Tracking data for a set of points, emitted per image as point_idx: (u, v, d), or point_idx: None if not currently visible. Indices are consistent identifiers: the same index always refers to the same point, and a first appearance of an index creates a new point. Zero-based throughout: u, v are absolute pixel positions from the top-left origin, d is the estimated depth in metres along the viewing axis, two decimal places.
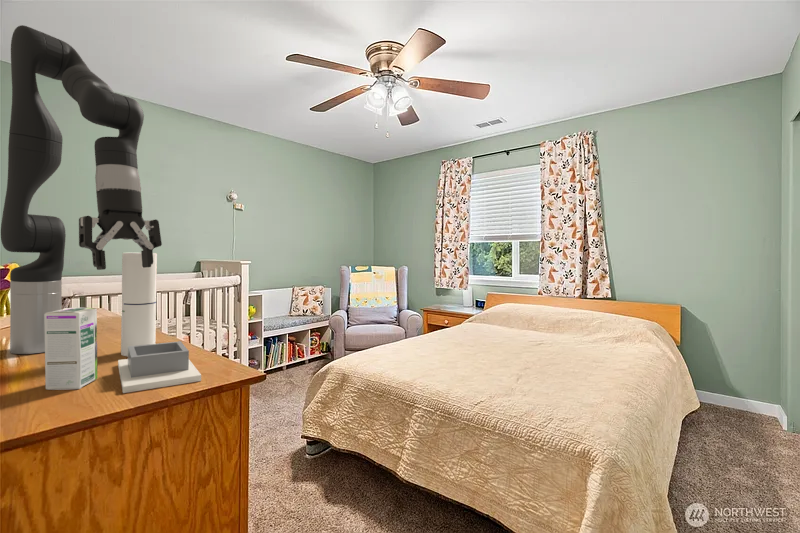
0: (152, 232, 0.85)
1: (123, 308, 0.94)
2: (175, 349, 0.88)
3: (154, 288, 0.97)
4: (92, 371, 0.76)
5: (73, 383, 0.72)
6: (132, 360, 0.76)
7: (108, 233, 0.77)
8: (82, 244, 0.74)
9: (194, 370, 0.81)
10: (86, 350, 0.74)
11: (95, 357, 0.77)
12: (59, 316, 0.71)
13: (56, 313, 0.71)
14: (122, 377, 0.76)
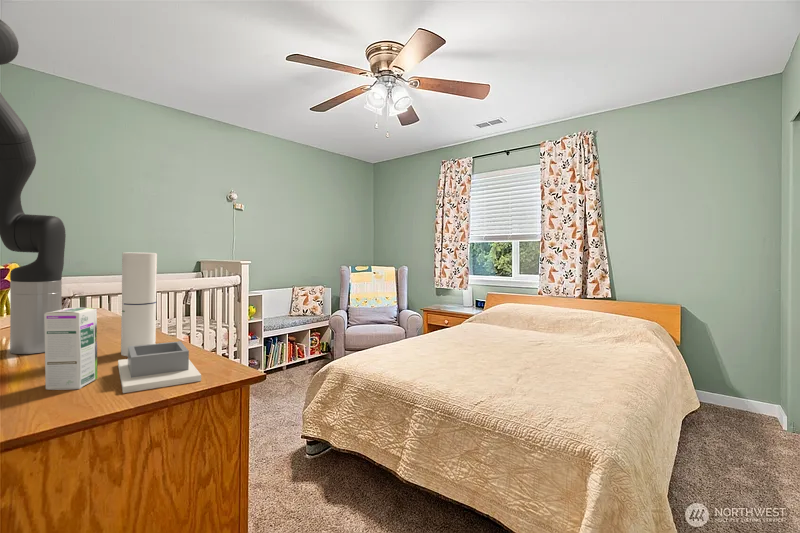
0: None
1: (123, 308, 0.94)
2: (175, 349, 0.88)
3: (154, 288, 0.97)
4: (92, 371, 0.76)
5: (73, 383, 0.72)
6: (132, 360, 0.76)
7: None
8: None
9: (194, 370, 0.81)
10: (86, 350, 0.74)
11: (95, 357, 0.77)
12: (59, 316, 0.71)
13: (56, 313, 0.71)
14: (122, 377, 0.76)
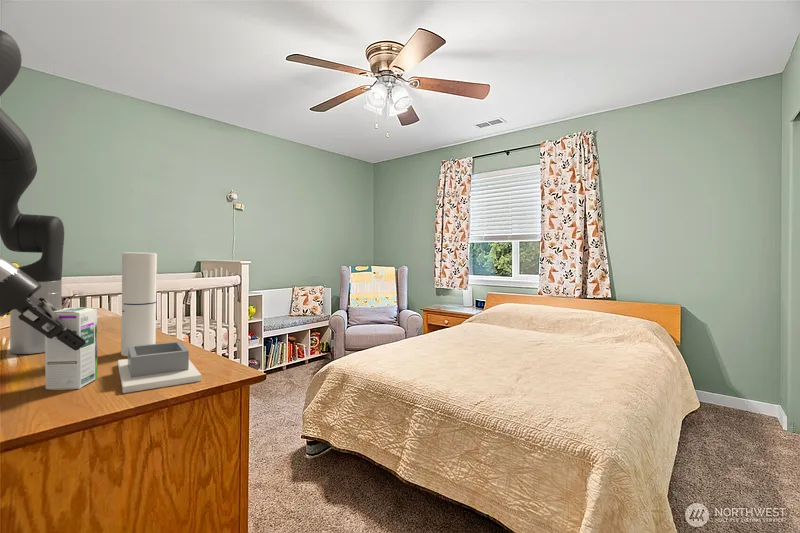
0: None
1: (123, 308, 0.94)
2: (175, 349, 0.88)
3: (154, 288, 0.97)
4: (92, 371, 0.76)
5: (73, 383, 0.72)
6: (132, 360, 0.76)
7: None
8: None
9: (194, 370, 0.81)
10: (86, 350, 0.74)
11: (96, 357, 0.77)
12: None
13: (56, 313, 0.71)
14: (122, 377, 0.76)
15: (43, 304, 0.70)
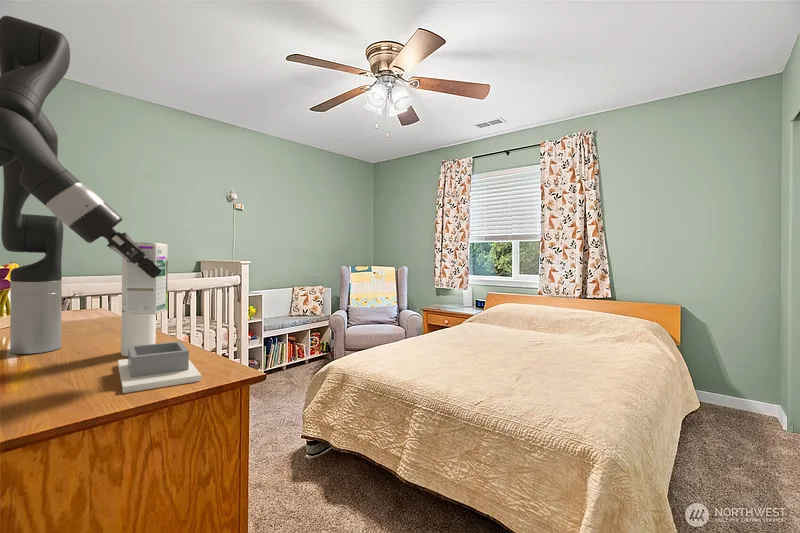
0: None
1: (123, 308, 0.94)
2: (175, 349, 0.88)
3: None
4: (164, 301, 0.82)
5: (150, 309, 0.78)
6: (132, 360, 0.76)
7: None
8: None
9: (194, 370, 0.81)
10: (160, 280, 0.80)
11: (166, 289, 0.83)
12: None
13: None
14: (122, 377, 0.76)
15: (125, 234, 0.76)
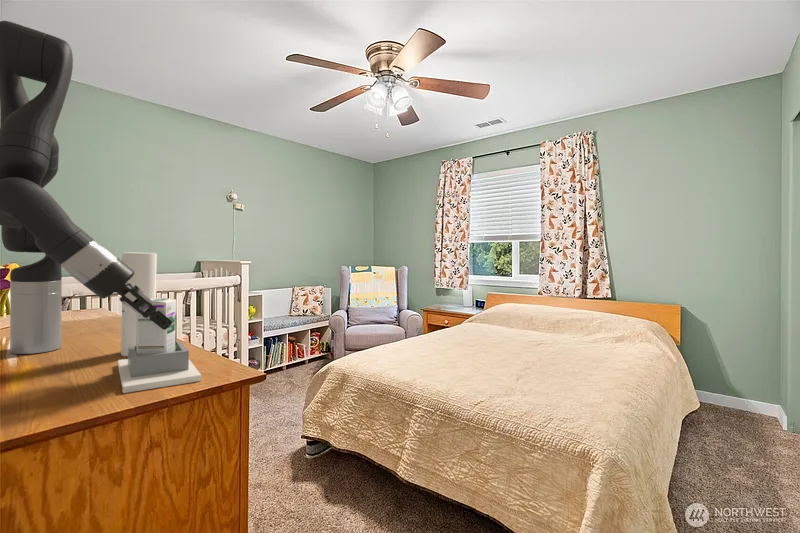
0: None
1: (123, 308, 0.94)
2: None
3: (154, 288, 0.97)
4: None
5: None
6: (132, 360, 0.76)
7: None
8: None
9: (194, 370, 0.81)
10: (170, 336, 0.82)
11: (175, 343, 0.85)
12: None
13: None
14: (122, 377, 0.76)
15: (137, 288, 0.78)
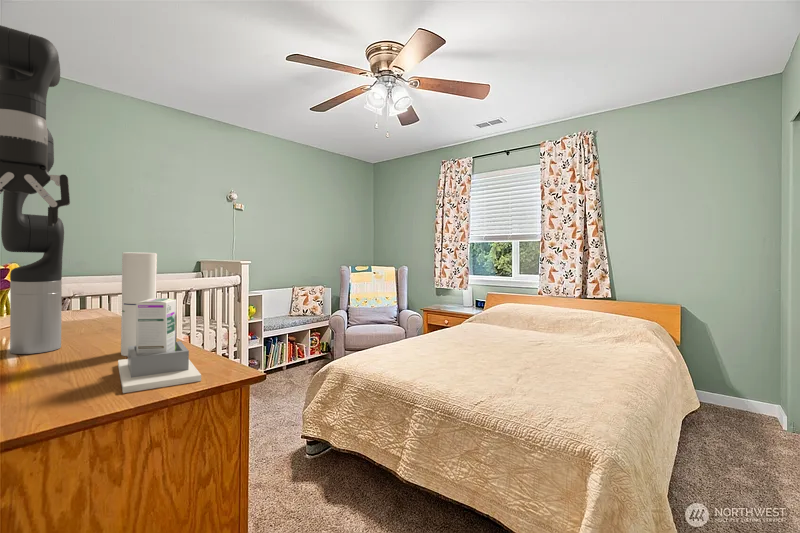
0: None
1: (123, 308, 0.94)
2: None
3: (154, 288, 0.97)
4: None
5: None
6: (132, 360, 0.76)
7: None
8: None
9: (194, 370, 0.81)
10: (170, 336, 0.82)
11: (175, 343, 0.85)
12: (148, 305, 0.79)
13: (146, 303, 0.79)
14: (122, 377, 0.76)
15: None
